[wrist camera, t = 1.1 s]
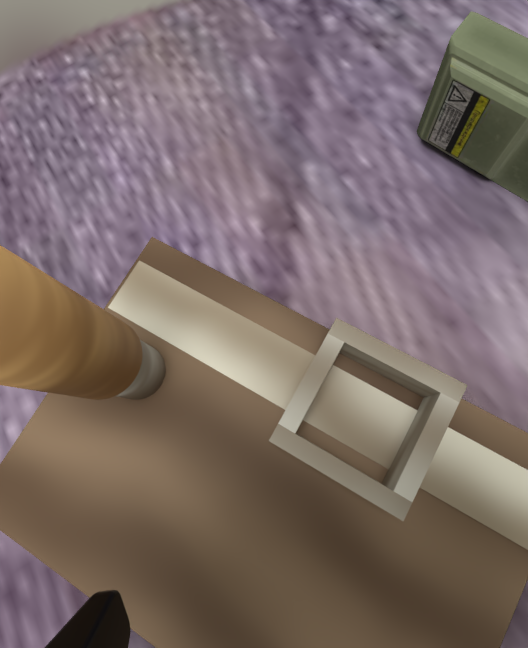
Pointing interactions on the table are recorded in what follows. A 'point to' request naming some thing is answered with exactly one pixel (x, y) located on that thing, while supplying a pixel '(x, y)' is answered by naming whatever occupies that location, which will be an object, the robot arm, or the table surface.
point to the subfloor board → (275, 482)
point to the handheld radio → (483, 103)
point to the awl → (68, 340)
